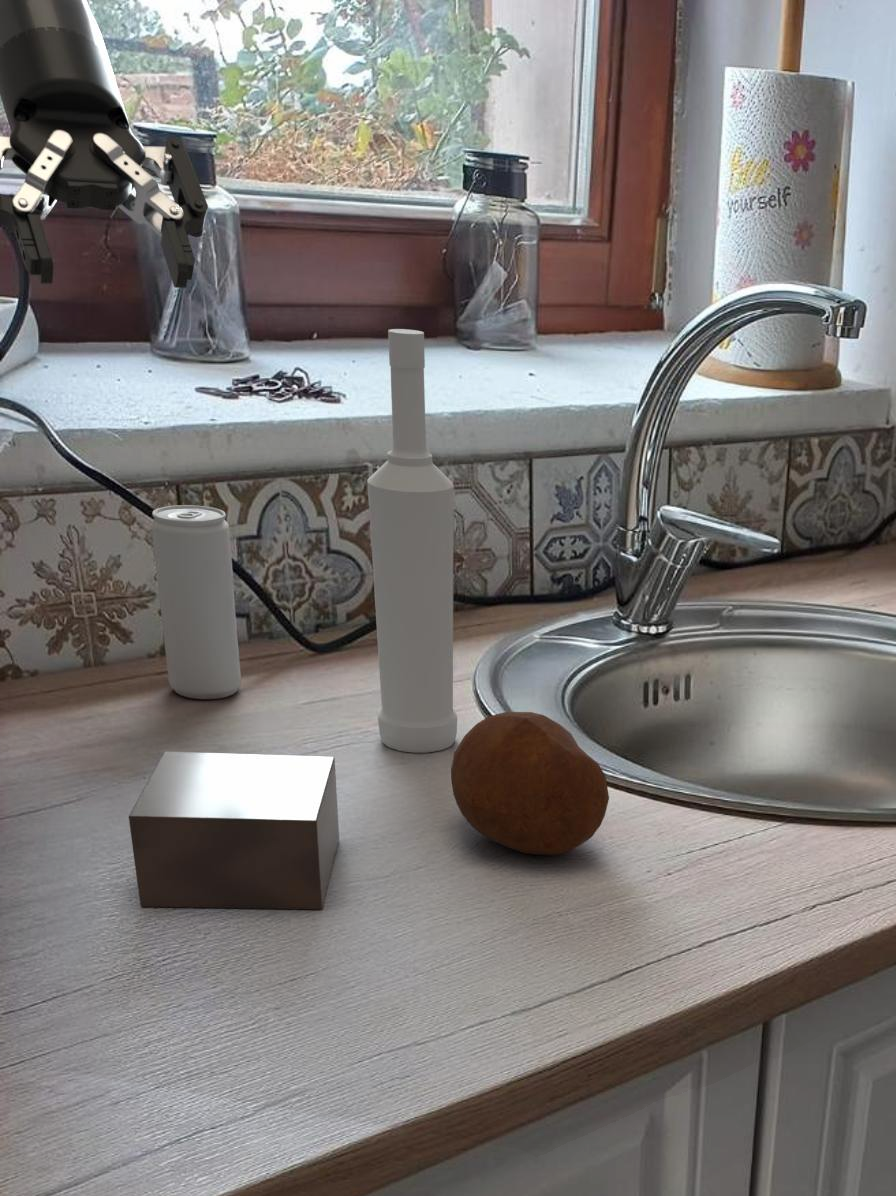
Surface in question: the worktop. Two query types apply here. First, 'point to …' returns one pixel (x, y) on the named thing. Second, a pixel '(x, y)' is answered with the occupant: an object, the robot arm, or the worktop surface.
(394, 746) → the bottle
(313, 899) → the metal block
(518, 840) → the potato
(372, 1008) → the worktop surface
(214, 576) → the beverage can
